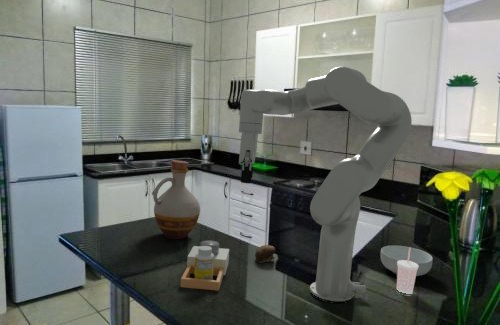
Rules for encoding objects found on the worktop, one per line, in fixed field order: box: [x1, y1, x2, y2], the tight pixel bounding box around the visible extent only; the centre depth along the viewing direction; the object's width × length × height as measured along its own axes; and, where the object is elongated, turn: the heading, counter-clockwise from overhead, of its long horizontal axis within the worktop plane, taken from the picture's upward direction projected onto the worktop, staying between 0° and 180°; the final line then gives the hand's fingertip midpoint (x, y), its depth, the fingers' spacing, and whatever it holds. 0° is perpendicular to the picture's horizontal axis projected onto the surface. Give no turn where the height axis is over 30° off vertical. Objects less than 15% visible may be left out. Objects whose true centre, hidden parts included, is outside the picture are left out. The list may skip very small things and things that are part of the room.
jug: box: [152, 159, 201, 240], centre depth 158 cm, size 20×18×30 cm
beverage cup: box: [396, 246, 419, 295], centre depth 123 cm, size 6×6×14 cm
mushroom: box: [254, 244, 276, 263], centre depth 140 cm, size 8×8×6 cm
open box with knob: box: [179, 240, 230, 292], centre depth 125 cm, size 12×21×8 cm, turn 177°
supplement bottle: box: [193, 245, 214, 280], centre depth 120 cm, size 6×6×10 cm
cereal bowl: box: [380, 245, 434, 277], centre depth 139 cm, size 17×17×7 cm
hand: (246, 180), depth 134 cm, fingers open, 9 cm apart
